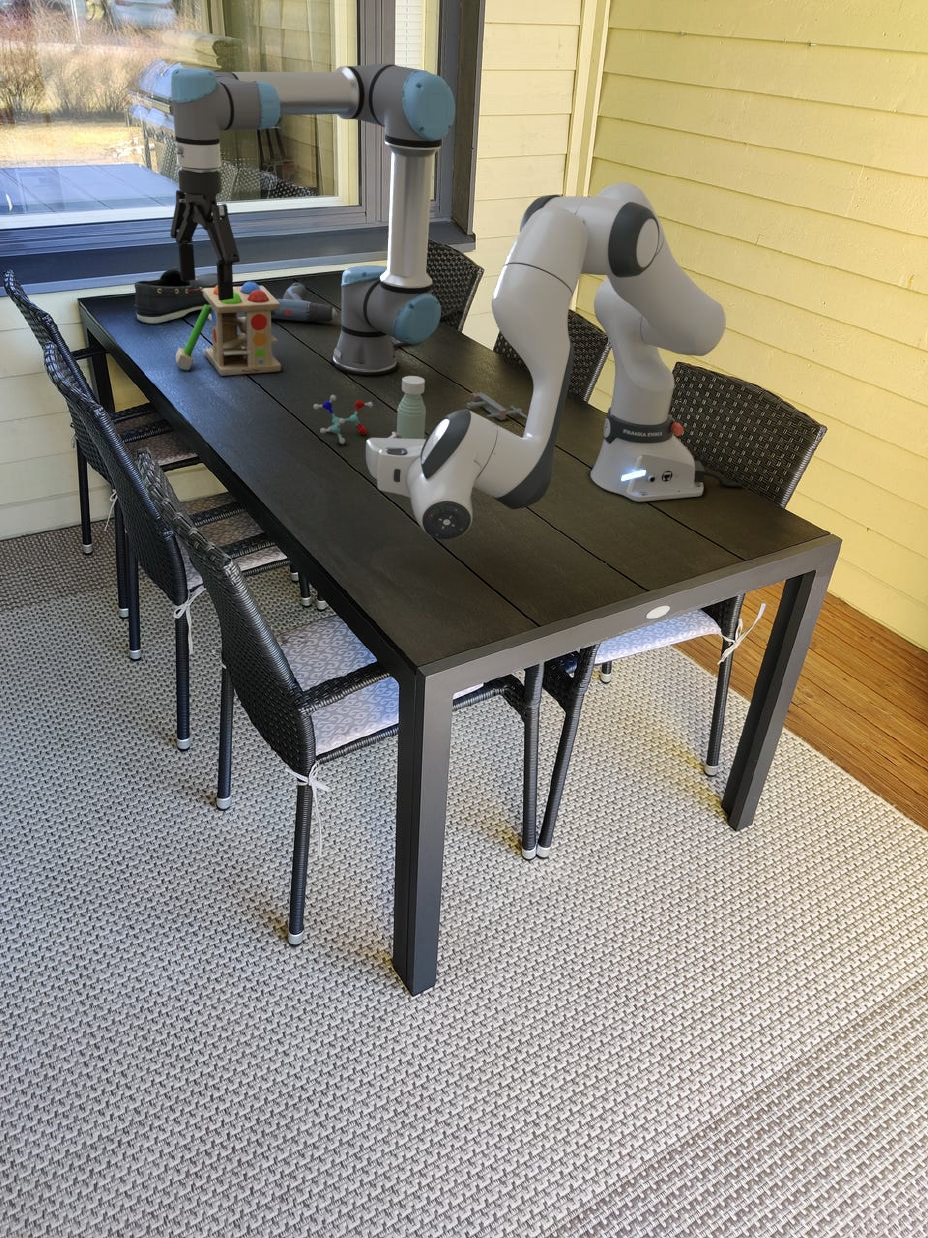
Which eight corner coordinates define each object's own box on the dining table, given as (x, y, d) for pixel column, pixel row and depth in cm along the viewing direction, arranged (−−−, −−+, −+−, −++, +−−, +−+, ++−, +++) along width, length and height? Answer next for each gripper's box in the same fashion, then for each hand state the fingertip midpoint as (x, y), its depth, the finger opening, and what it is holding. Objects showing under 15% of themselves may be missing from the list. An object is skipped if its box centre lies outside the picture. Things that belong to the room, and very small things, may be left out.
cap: (401, 385, 181) (402, 375, 180) (423, 386, 182) (424, 376, 181) (402, 393, 178) (402, 383, 177) (424, 395, 178) (425, 384, 177)
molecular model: (360, 436, 195) (343, 387, 193) (320, 451, 198) (303, 403, 197) (383, 432, 205) (367, 385, 204) (345, 446, 209) (329, 401, 207)
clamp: (458, 394, 221) (496, 389, 226) (457, 403, 222) (495, 398, 227) (493, 419, 211) (531, 413, 215) (492, 429, 212) (530, 423, 216)
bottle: (394, 471, 192) (398, 375, 181) (421, 472, 192) (427, 377, 181) (394, 483, 187) (399, 386, 176) (422, 484, 188) (428, 388, 177)
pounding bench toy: (183, 379, 220) (176, 299, 210) (169, 357, 231) (162, 280, 221) (282, 371, 230) (280, 294, 220) (264, 350, 240) (262, 276, 230)
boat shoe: (245, 302, 271) (243, 263, 266) (154, 325, 248) (149, 283, 242) (211, 293, 277) (208, 255, 272) (119, 316, 253) (114, 274, 248)
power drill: (344, 304, 276) (335, 327, 259) (277, 298, 275) (264, 321, 258) (344, 285, 273) (335, 306, 256) (277, 279, 272) (264, 300, 255)
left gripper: (145, 155, 179) (155, 274, 191) (217, 183, 164) (224, 310, 176) (182, 153, 183) (190, 269, 195) (256, 180, 169) (260, 304, 181)
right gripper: (501, 456, 152) (487, 420, 163) (369, 452, 149) (364, 416, 160) (497, 492, 156) (483, 455, 167) (368, 490, 152) (363, 452, 163)
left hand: (206, 289), depth 186 cm, fingers open, 13 cm apart
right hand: (424, 436), depth 163 cm, fingers open, 8 cm apart
